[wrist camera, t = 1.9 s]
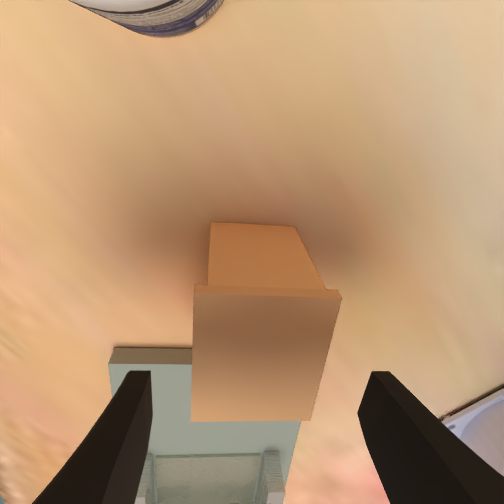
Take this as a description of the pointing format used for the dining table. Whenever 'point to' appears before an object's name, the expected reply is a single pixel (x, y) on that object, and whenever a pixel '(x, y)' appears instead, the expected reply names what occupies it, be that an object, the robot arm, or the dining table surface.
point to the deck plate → (179, 413)
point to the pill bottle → (155, 14)
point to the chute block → (259, 327)
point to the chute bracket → (212, 479)
